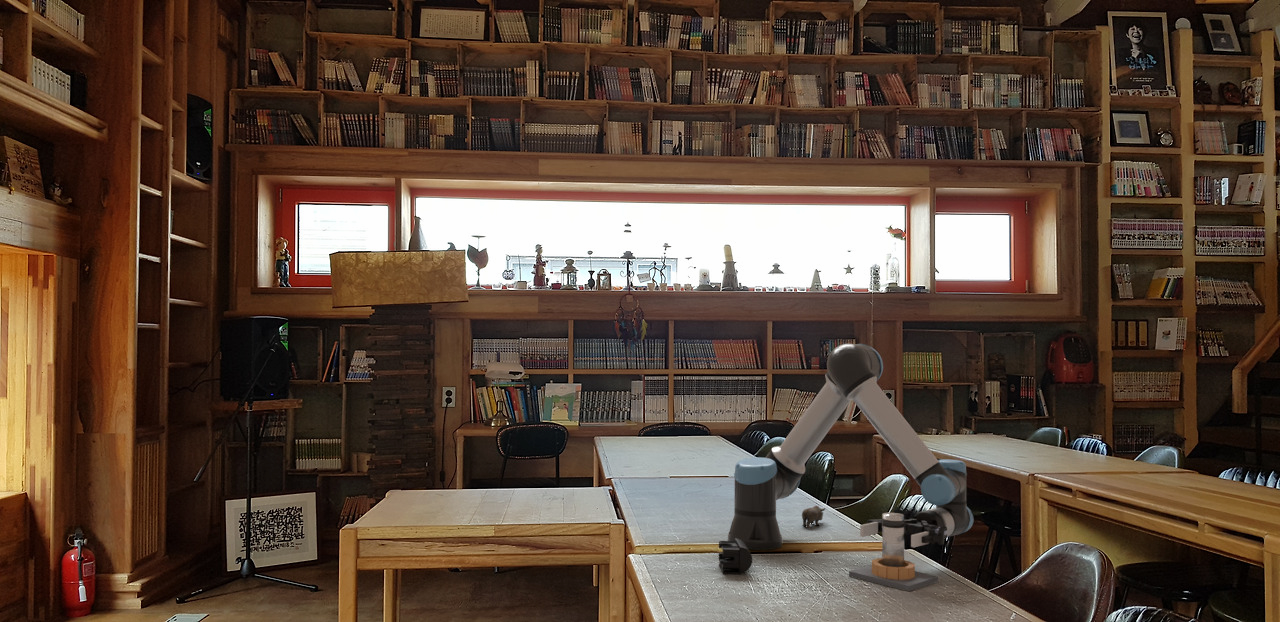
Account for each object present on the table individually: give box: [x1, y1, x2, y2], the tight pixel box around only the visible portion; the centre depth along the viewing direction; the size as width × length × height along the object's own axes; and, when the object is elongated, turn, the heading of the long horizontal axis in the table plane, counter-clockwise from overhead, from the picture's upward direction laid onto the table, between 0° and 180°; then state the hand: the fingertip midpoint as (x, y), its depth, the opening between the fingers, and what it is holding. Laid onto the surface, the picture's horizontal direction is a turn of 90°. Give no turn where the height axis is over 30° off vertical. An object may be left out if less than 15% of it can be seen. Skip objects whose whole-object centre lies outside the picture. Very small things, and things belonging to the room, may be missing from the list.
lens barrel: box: [881, 512, 906, 567], centre depth 194 cm, size 5×5×14 cm
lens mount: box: [848, 557, 939, 592], centre depth 193 cm, size 16×13×4 cm
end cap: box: [718, 538, 753, 576], centre depth 199 cm, size 10×7×7 cm
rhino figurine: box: [801, 505, 826, 529], centre depth 255 cm, size 4×14×6 cm, turn 143°
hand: (886, 536), depth 192 cm, fingers open, 13 cm apart
